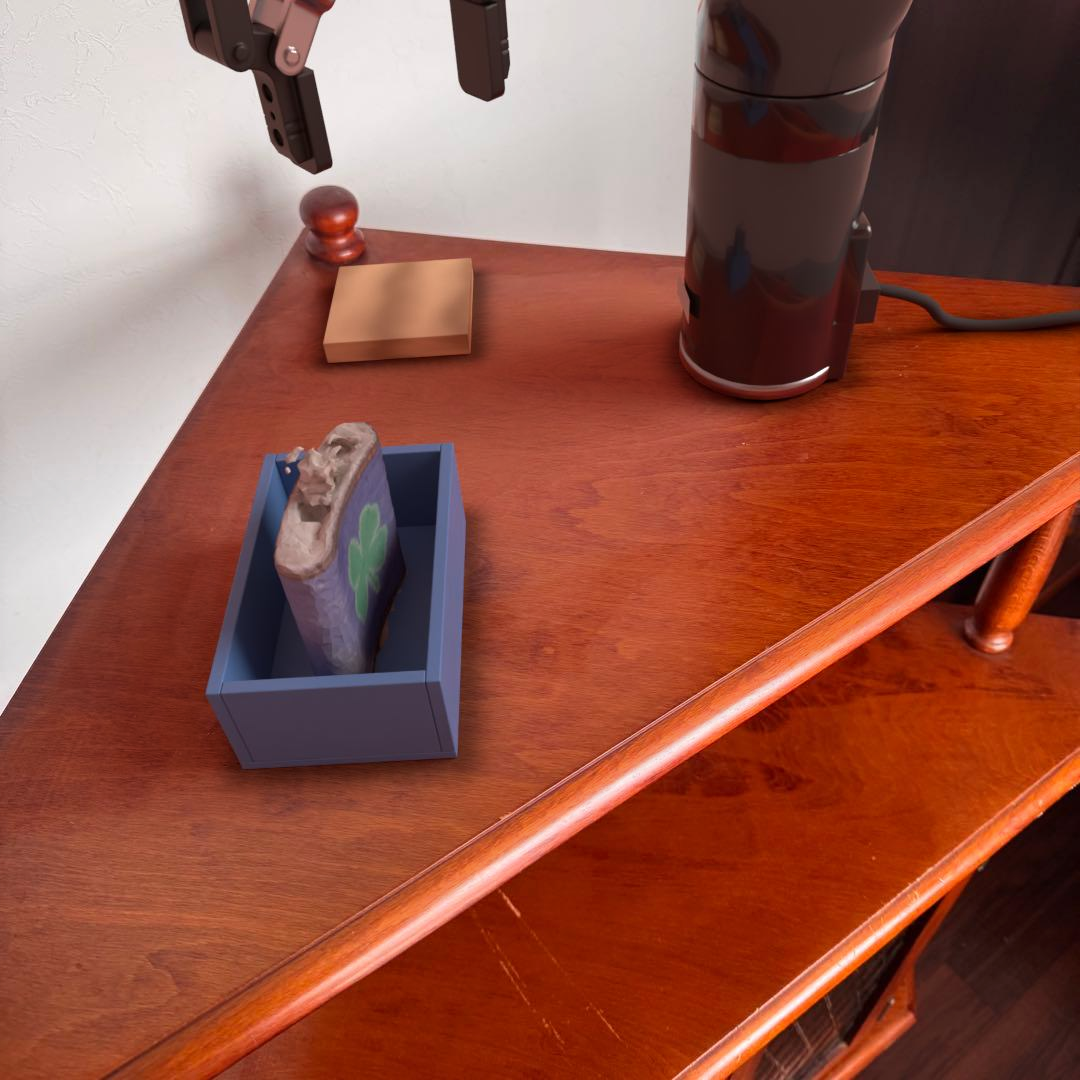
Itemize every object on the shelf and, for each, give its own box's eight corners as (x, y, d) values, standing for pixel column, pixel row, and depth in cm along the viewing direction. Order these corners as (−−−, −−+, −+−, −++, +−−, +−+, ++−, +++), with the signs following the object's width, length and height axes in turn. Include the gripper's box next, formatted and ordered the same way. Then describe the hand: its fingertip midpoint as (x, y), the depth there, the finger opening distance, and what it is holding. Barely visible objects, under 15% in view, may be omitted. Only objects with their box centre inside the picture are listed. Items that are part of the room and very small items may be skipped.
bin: (466, 522, 53) (453, 441, 49) (457, 757, 43) (440, 680, 39) (291, 532, 53) (264, 453, 49) (242, 769, 43) (204, 694, 39)
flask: (366, 711, 44) (310, 540, 36) (302, 705, 45) (234, 535, 37) (415, 557, 50) (377, 384, 43) (359, 553, 51) (311, 382, 43)
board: (473, 276, 69) (471, 257, 68) (470, 354, 63) (467, 334, 62) (343, 285, 70) (339, 266, 68) (327, 363, 63) (322, 343, 62)
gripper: (145, -415, 23) (302, 228, 35) (586, -462, 30) (595, 96, 41) (16, -413, 27) (196, 163, 39) (428, -455, 34) (477, 52, 45)
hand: (401, 128), depth 40 cm, fingers open, 8 cm apart
